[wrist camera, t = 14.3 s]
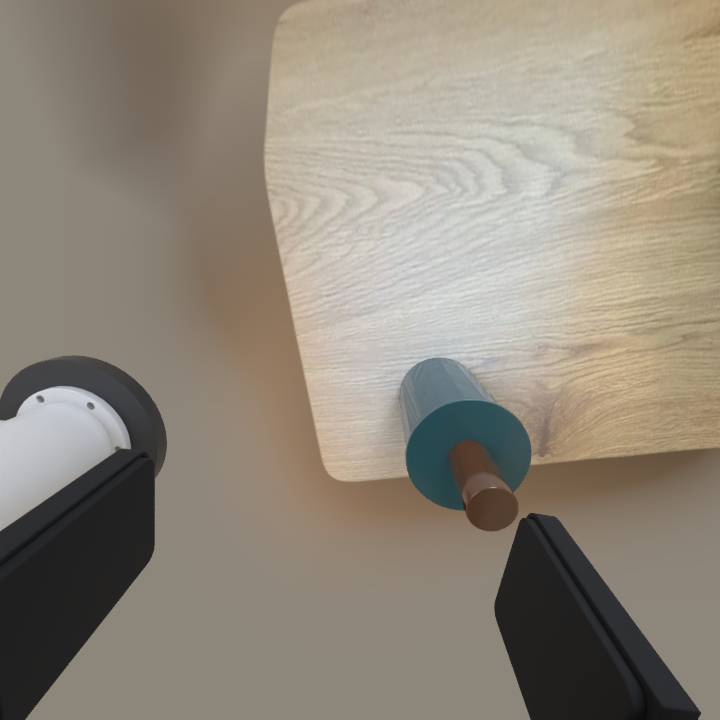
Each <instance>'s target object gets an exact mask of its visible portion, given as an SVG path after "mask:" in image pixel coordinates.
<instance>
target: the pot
mask: <svg viewBox="0 0 720 720" xmlns="http://www.w3.org/2000/svg"><path fill="white" fill-rule="evenodd" d="M468 397H472V398H482V399H487V400H490V401H493V402H496V401H495V399H494V398H493V397H492V396H491V395H490V394H489V393H488V392H487V390H486V389H485V388H484V387H483V386H482V385H481V384H480V383H479V381H478V380H477V379H476V378H475V377H474V376H473V375H472V374H471V372H470V371H469V370H468V369H467V368H466V367H464V366H463V365H461V364H460V363H458V362H456V361H454V360H451V359H446V358H432V359H428V360H425V361H422V362H420V363H418V364H417V365H415V366H414V367H413V368H412V369H411V370H410V371H409V372H408V373H407V374H406V376H405V377H404V379H403V381H402V384H401V387H400V395H399V401H400V408H401V415H402V421H403V428H404V435H405V442H406V444H407V440H408V437H409V435H410V432H411V431H412V429H413V427H414V426H415V424H416V423H417V422H418V420H419V419H420V418H421V417H422V416H423V415H424V414H425V413H427V412H428V411H429V410H431V409H432V408H434V407H435V406H437V405H439V404H441V403H444V402H446V401H449V400H453V399H458V398H468ZM496 403H497V402H496Z"/></svg>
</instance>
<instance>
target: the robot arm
mask: <svg viewBox="0 0 720 720" xmlns="http://www.w3.org/2000/svg"><path fill="white" fill-rule="evenodd" d="M154 497H155V464H154V460H153V459H150V458H149V455H148V453H147V452H144V451H138V450H131V443H130V438H129V434H128V431H127V429H126V426H125V424H124V423H123V421H122V419H121V418H120V416H119V415H118V414H117V412H116V411H115V410H114V409H113V408H112V407H111V406H110V405H109V404H108V403H107V402H105V401H104V400H103V399H101V398H100V397H98V396H96V395H95V394H93V393H91V392H89V391H86V390H84V389H80V388H76V387H72V386H57V387H51V388H48V389H45V390H42V391H39V392H37V393H35V394H33V395H31V396H30V397H29V398H28V399H27V400H25V401H24V402H23V404H22V405H21V407H20V408H19V410H18V413H17V415H16V417H14V418H11V419H9V420H6V421H4V420H0V720H25V719H26V718H27V716H28V715H29V714H30V712H31V711H32V710H33V709H34V707H35V706H36V705H37V704H38V702H39V701H40V700H41V699H42V697H43V696H44V695H45V693H46V692H47V691H48V690H49V688H50V687H51V686H52V685H53V683H54V682H55V681H56V679H57V678H58V677H59V676H60V674H61V673H62V672H63V671H64V669H65V668H66V667H67V665H68V664H69V663H70V662H71V660H72V659H73V658H74V657H75V655H76V654H77V653H78V652H79V650H80V649H81V648H82V646H83V645H84V644H85V643H86V641H87V640H88V639H89V638H90V636H91V635H92V634H93V632H94V631H95V630H96V629H97V627H98V626H99V625H100V624H101V622H102V621H103V620H104V618H105V617H106V616H107V615H108V613H109V612H110V611H111V610H112V608H113V607H114V605H115V604H116V603H117V602H118V601H119V599H120V598H121V597H122V596H123V594H124V593H125V592H126V590H127V589H128V588H129V586H130V585H131V584H132V583H133V582H134V580H135V579H136V578H137V576H138V575H139V574H140V573H141V571H142V570H143V569H144V568H145V566H146V565H147V564H148V562H149V561H150V559H151V557H152V554H153V551H154V545H155V541H154V540H155V530H154V529H155V528H154V527H155V523H154V522H155V514H154V513H155V498H154ZM494 608H495V617H496V620H497V623H498V626H499V629H500V632H501V635H502V638H503V641H504V644H505V646H506V649H507V652H508V655H509V658H510V661H511V664H512V667H513V669H514V673H515V676H516V678H517V681H518V684H519V687H520V690H521V693H522V696H523V698H524V701H525V704H526V707H527V710H528V713H529V716H530V719H531V720H698V718H699V716H700V714H701V712H700V711H699V710H698V708H697V707H696V705H695V704H694V703H693V701H692V700H691V699H690V697H689V696H688V695H687V693H686V692H685V691H684V689H683V688H682V687H681V685H680V684H679V682H678V681H677V680H676V678H675V677H674V676H673V674H672V673H671V672H670V670H669V669H668V667H667V666H666V665H665V663H664V662H663V661H662V659H661V658H660V657H659V655H658V654H657V653H656V651H655V650H654V649H653V647H652V646H651V644H650V643H649V642H648V640H647V639H646V638H645V636H644V635H643V634H642V632H641V631H640V630H639V628H638V627H637V625H636V624H635V623H634V621H633V620H632V619H631V617H630V616H629V615H628V613H627V612H626V611H625V609H624V608H623V607H622V605H621V604H620V602H619V601H618V600H617V598H616V597H615V596H614V594H613V593H612V592H611V590H610V589H609V587H608V586H607V585H606V583H605V582H604V581H603V579H602V578H601V577H600V575H599V574H598V573H597V572H596V570H595V569H594V567H593V566H592V564H591V563H590V562H589V560H588V559H587V558H586V556H585V555H584V554H583V552H582V551H581V549H580V548H579V547H578V545H577V544H576V543H575V541H574V540H573V539H572V537H571V536H570V535H569V533H568V532H567V531H566V529H565V528H564V526H563V525H562V524H561V522H560V521H559V520H558V519H557V518H556V517H553V516H548V515H541V514H535V513H531V514H529V515H528V516H527V518H522V519H521V520H520V522H519V525H518V529H517V532H516V535H515V539H514V542H513V545H512V548H511V551H510V554H509V558H508V561H507V564H506V568H505V571H504V574H503V578H502V580H501V584H500V587H499V591H498V594H497V597H496V600H495V607H494Z"/></svg>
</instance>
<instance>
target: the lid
mask: <svg viewBox="0 0 720 720" xmlns="http://www.w3.org/2000/svg"><path fill="white" fill-rule="evenodd" d="M405 457H406V466H407V470H408V473H409V476H410V478H411V480H412V482H413V484H414V485H415V487H416V488H417V489H418V490H419V491H420V492H421V493H422V494H423V495H424V496H425V497H426V498H427V499H429V500H431V501H432V502H434V503H436V504H438V505H440V506H443V507H446V508H449V509H454V510H462V511H465V512H466V515H467V518H468V519H469V521H470V522H471V523H472V524H473V525H474V526H475V527H477V528H479V529H481V530H484V531H498V530H501V529H504V528H506V527H508V526H509V525H510V524H512V522H513V521H514V520H515V518H516V517H517V514H518V502H517V500H516V498H515V496H514V495H513V492H514V491H515V490H516V489H517V488H518V487H519V486H520V484H521V483H522V481H523V480H524V478H525V476H526V474H527V472H528V469H529V466H530V461H531V444H530V440H529V436H528V434H527V432H526V430H525V428H524V426H523V425H522V423H521V422H520V421H519V420H518V418H517V417H516V416H515V415H514V414H513V413H511V412H510V411H509V410H508V409H506V408H505V407H503V406H502V405H500V404H498V403H496V402H493V401H490V400H487V399H482V398H472V397H468V398H458V399H453V400H449V401H446V402H444V403H441V404H439V405H437V406H435V407H434V408H432V409H431V410H429V411H428V412H427V413H425V414H424V415H423V416H422V417H421V418H420V419H419V420H418V422H417V423H416V424H415V426H414V427H413V429H412V431H411V432H410V435H409V437H408V440H407V444H406V452H405Z"/></svg>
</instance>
